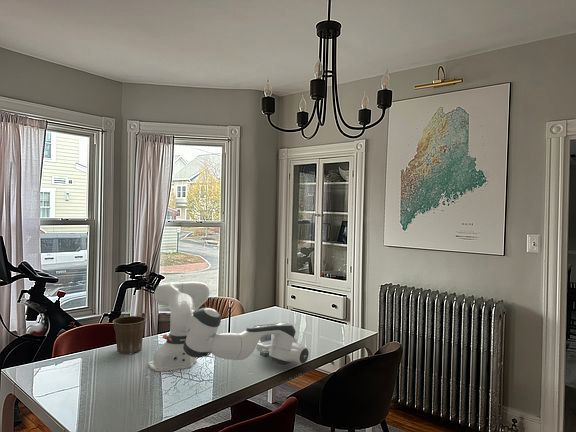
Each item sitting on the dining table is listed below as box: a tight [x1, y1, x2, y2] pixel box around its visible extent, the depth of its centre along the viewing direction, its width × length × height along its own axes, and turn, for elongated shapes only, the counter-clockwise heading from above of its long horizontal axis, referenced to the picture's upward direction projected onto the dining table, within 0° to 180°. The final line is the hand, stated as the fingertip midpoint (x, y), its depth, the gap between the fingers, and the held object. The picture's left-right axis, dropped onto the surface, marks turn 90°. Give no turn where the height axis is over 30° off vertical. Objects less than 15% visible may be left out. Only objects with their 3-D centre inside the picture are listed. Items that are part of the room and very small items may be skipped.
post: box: [259, 334, 272, 358], centre depth 230 cm, size 4×4×13 cm
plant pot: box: [112, 315, 147, 355], centre depth 234 cm, size 16×16×16 cm
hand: (266, 340), depth 230 cm, fingers open, 8 cm apart
